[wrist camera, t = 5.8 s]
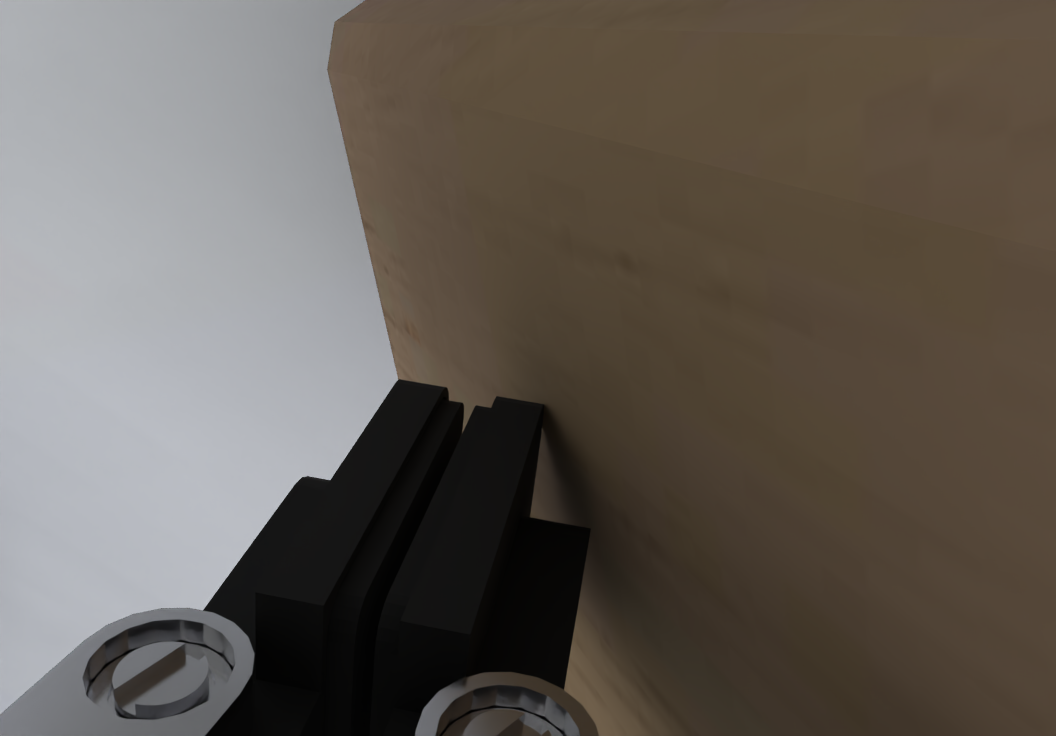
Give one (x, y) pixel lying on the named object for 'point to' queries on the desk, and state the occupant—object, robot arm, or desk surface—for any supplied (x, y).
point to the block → (746, 333)
